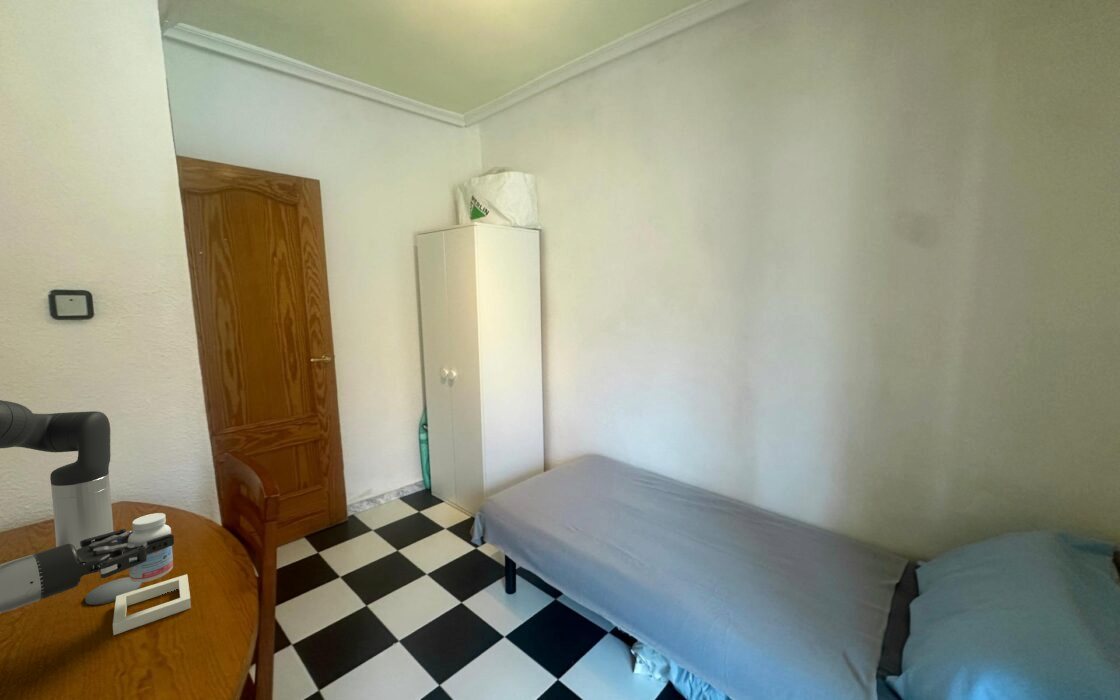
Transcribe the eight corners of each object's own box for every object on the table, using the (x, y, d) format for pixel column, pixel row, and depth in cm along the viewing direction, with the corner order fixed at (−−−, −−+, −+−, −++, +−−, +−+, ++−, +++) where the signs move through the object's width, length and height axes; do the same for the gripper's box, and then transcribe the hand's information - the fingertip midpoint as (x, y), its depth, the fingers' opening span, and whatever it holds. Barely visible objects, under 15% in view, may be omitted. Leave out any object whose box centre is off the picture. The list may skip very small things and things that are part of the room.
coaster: (87, 590, 87) (87, 588, 87) (142, 574, 92) (142, 572, 92) (83, 610, 81) (82, 607, 81) (141, 592, 87) (141, 589, 87)
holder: (117, 605, 83) (116, 596, 82) (187, 583, 90) (187, 574, 90) (113, 635, 75) (112, 624, 75) (190, 607, 82) (190, 598, 82)
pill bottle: (146, 586, 79) (142, 528, 78) (121, 581, 80) (117, 524, 79) (181, 567, 85) (178, 513, 84) (157, 562, 86) (154, 509, 85)
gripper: (40, 571, 65) (180, 525, 80) (21, 543, 73) (152, 506, 87) (44, 616, 66) (182, 563, 80) (25, 584, 73) (154, 540, 88)
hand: (166, 533), depth 84 cm, fingers closed on pill bottle, 6 cm apart
